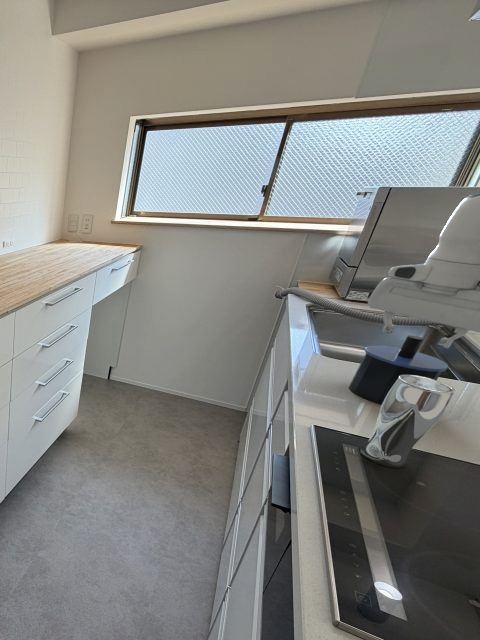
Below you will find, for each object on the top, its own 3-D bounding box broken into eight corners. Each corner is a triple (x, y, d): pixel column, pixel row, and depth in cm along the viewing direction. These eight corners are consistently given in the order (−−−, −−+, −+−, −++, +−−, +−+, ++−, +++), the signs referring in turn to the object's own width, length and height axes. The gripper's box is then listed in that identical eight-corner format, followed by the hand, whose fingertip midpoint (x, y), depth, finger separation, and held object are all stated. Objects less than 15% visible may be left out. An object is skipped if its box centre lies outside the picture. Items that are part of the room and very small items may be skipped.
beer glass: (416, 465, 72) (466, 389, 65) (394, 473, 70) (443, 395, 63) (369, 443, 78) (411, 371, 71) (347, 450, 75) (388, 376, 69)
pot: (429, 403, 94) (453, 365, 90) (405, 413, 89) (428, 374, 85) (364, 380, 104) (382, 345, 100) (338, 389, 99) (356, 352, 94)
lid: (456, 368, 90) (471, 343, 87) (429, 378, 84) (445, 352, 82) (379, 347, 100) (391, 324, 98) (351, 354, 95) (363, 331, 92)
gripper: (533, 286, 77) (487, 354, 83) (394, 265, 93) (365, 323, 99) (521, 288, 74) (475, 359, 81) (381, 266, 90) (352, 326, 97)
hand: (413, 339), depth 90 cm, fingers open, 8 cm apart
